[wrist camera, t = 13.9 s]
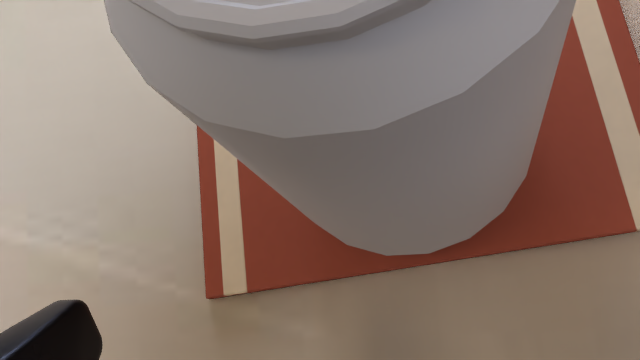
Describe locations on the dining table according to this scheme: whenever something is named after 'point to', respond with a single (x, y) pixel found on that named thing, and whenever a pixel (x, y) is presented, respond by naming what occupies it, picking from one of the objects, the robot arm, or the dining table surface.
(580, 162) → the red table runner
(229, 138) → the can
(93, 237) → the dining table surface
